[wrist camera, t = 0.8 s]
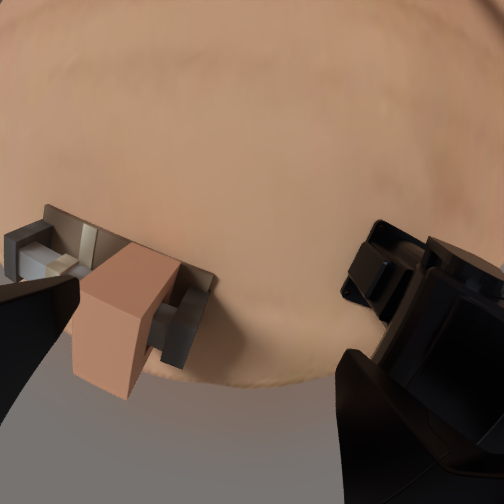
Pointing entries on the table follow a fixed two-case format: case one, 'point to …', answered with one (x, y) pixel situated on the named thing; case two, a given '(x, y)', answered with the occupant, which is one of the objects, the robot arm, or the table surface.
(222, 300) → the table surface
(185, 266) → the rail
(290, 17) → the table surface
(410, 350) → the robot arm
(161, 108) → the table surface
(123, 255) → the collar
